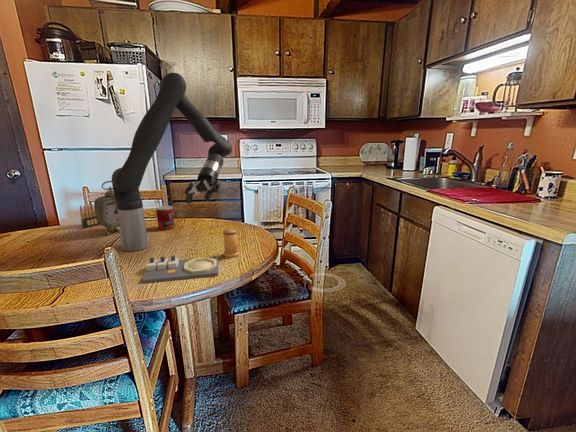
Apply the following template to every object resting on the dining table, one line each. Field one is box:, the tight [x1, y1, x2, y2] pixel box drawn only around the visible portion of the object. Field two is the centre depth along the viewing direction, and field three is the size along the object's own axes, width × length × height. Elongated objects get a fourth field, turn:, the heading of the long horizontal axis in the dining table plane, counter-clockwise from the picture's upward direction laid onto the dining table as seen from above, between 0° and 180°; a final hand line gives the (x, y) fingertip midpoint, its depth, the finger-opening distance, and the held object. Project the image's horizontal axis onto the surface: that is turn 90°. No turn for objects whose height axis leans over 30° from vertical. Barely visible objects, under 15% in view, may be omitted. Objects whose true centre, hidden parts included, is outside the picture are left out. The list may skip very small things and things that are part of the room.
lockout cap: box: [222, 228, 240, 259], centre depth 116 cm, size 6×6×10 cm
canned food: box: [155, 205, 176, 231], centre depth 149 cm, size 8×8×11 cm
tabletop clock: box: [93, 180, 120, 236], centre depth 142 cm, size 14×9×25 cm, turn 143°
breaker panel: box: [141, 255, 219, 284], centre depth 104 cm, size 24×14×4 cm, turn 102°
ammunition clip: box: [79, 203, 101, 229], centre depth 153 cm, size 11×2×12 cm, turn 152°
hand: (196, 200), depth 115 cm, fingers open, 8 cm apart
